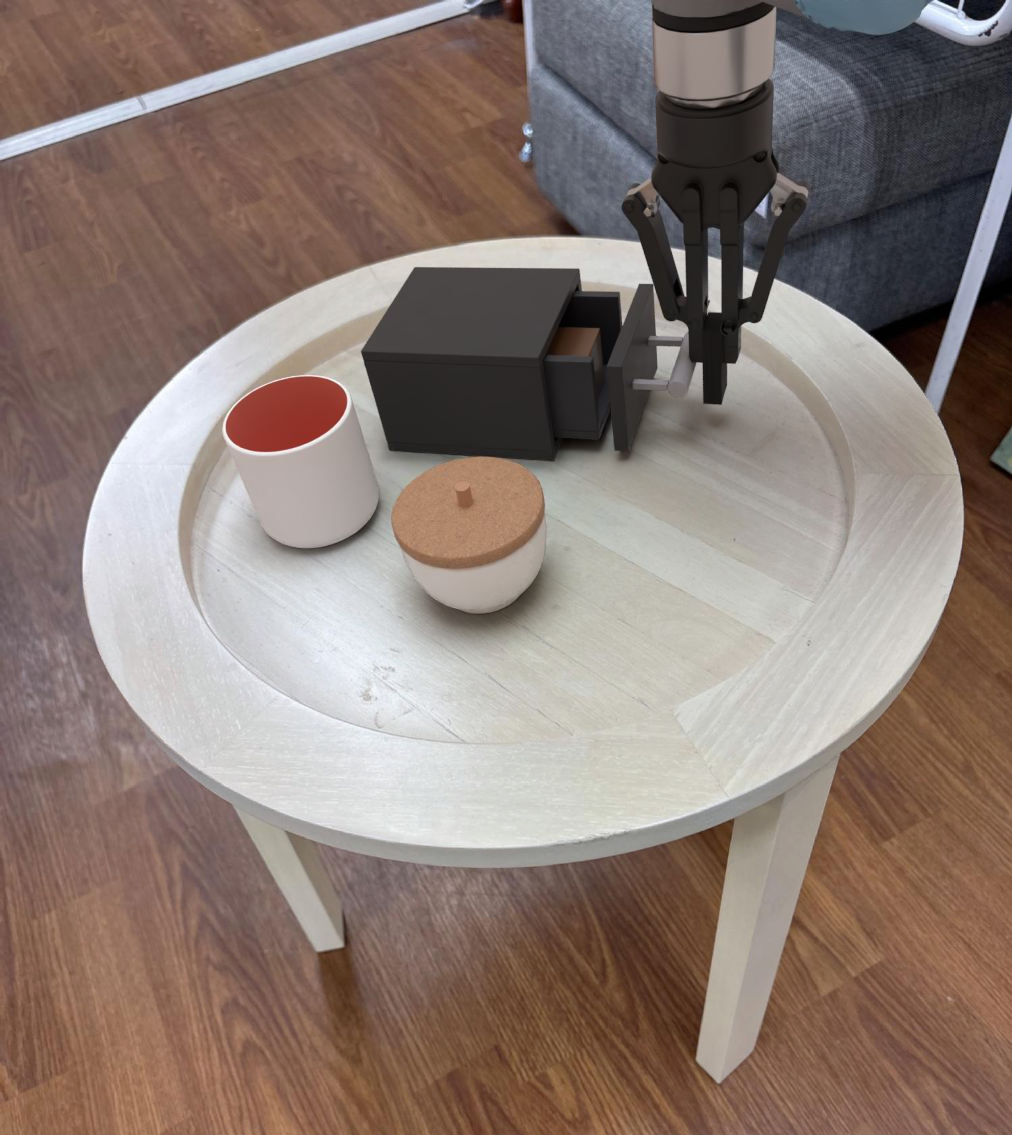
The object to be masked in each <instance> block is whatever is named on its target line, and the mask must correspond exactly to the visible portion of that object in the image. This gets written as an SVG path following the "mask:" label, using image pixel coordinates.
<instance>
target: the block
mask: <svg viewBox="0 0 1012 1135" xmlns="http://www.w3.org/2000/svg"><path fill="white" fill-rule="evenodd" d="M545 355H563V356H592V357H593V359H594V369H595V378H596V388H597V398H598V397H599V394H600V392H601V389H602V386H603V384H604V381H605V376H604V366H603V356H602V345H601V335H600V328H574V327H558V328H557V330H556V333H555V335H554V337H553V339H552V341H551V344H550V346H549V348H548V350H547V352H546V354H545Z"/></svg>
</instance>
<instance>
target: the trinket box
mask: <svg viewBox="0 0 1012 1135" xmlns="http://www.w3.org/2000/svg"><path fill="white" fill-rule="evenodd" d="M545 510H546V502H545V495H544V489H543V487H542V485H541V482H540V481H539V479H538V478H537V476H536V475H535V474H534V473H532V472H531V471H530V470H529V469H527V468H526V467H524V466H523V465H521V464H520V463H517V462H514V461H512V460H509V459H507V458H503V457H487V456H470V457H463V458H456V459H452V460H450V461H447V462H443V463H441V464H438V465H435V466H433V467H431V468H429V469H428V470H426V471H424V472H422V473H421V474H419V475H418V476H416V477H415V478H413V479H412V481H410V482H408V484H407V485H406V486H405V487H404V488H403V489H402V490H401V492H400V493H399V495H398V496H397V498H396V500H395V502H394V504H393V507H392V510H391V514H390V521H391V522H390V524H391V527H392V532H393V536H394V538H395V540H396V543H397V544H398V546H399V549H400V552H401V555H402V557H403V560H404V562H405V564H406V566H407V568H408V570H409V571H410V573H411V575H412V577H413V578H414V580H415V581H416V582H417V584H418V585H419V587H421V589H422V590H423V591H424V592H425V593H426V594H428V596H430V597H431V598H433V599H434V600H435V601H437V602H439V603H440V604H443V605H444V606H446V607H448V608H449V607H450V608H452V609H456V610H459V611H461V612H464V613H467V614H475V615H479V614H490V613H494V612H497V611H500V610H503V609H505V608H506V607H508V606H510V605H512V603H514V602H515V601H517V599H518V598H519V597H520V596H521V595H522V594H523V593H524V592H525V591H526V590H527V589H528V588H529V587H530V586H531V585H532V583H533V582H534V580H535V579H536V578H537V576H538V574H539V572H540V570H541V568H542V564H543V562H544V558H545V555H546V549H547V539H548V538H547V536H548V534H547V532H548V531H547V530H548V529H547V528H548V526H547V518H546V511H545Z"/></svg>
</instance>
